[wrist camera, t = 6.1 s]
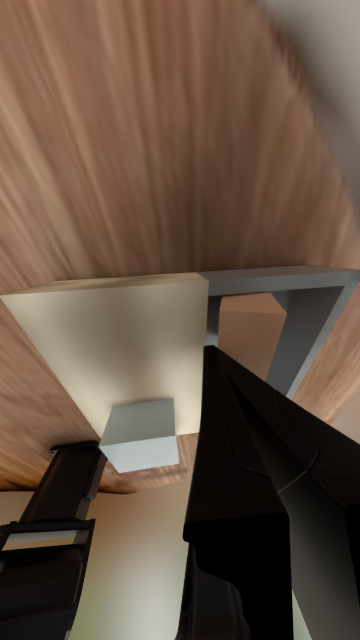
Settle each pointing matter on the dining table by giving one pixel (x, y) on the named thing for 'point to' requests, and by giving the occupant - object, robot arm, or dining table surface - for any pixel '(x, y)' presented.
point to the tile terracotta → (250, 329)
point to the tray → (288, 311)
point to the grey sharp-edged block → (141, 436)
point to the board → (121, 340)
